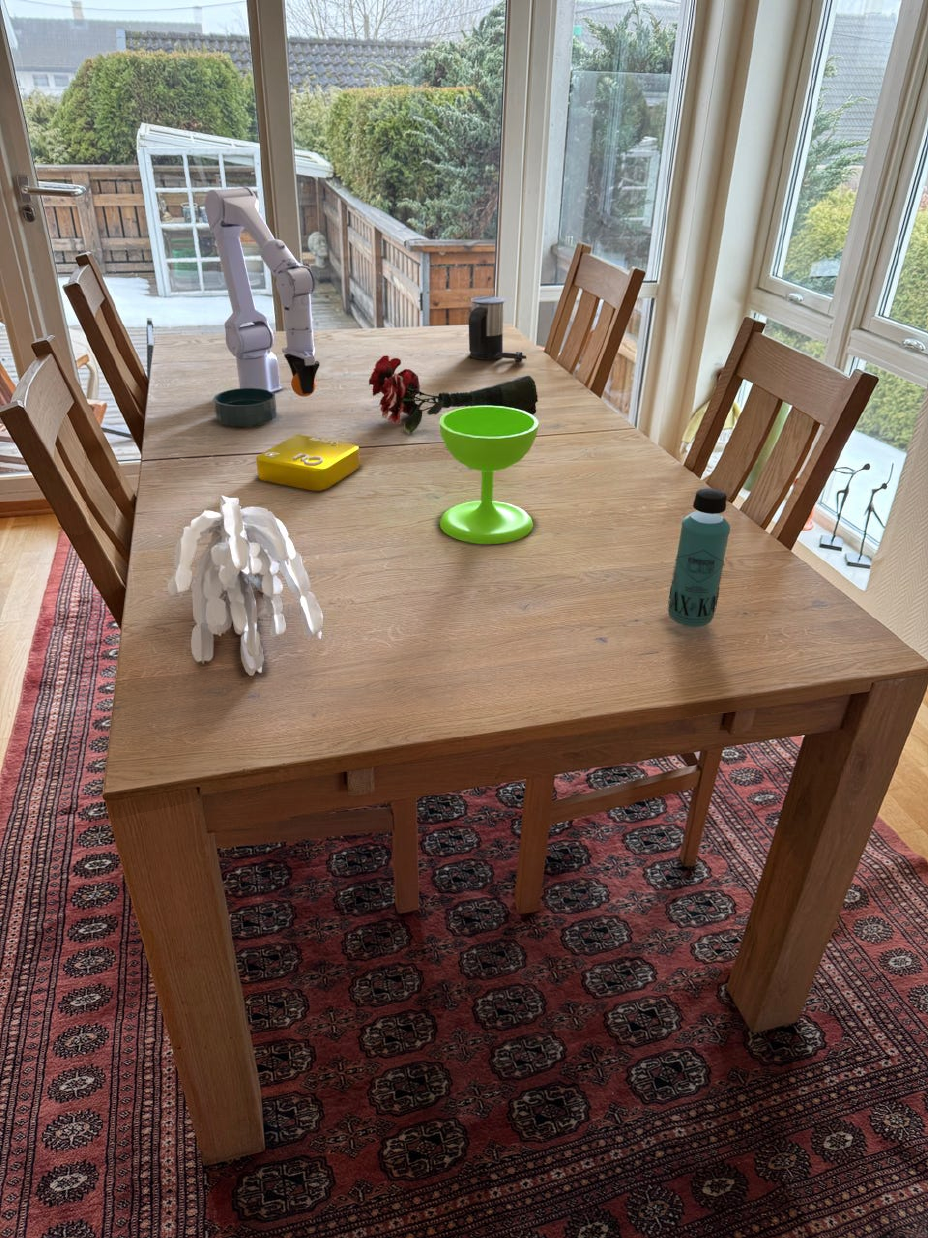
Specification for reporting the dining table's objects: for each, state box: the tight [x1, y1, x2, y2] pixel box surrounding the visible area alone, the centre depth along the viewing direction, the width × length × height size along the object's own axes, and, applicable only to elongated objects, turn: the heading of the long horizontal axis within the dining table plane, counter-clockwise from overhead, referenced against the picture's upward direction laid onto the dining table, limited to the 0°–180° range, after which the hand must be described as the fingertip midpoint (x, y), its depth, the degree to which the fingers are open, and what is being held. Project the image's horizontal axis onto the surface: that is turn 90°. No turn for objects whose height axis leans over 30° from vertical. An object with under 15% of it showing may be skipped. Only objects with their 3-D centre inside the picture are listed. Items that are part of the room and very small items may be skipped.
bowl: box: [212, 387, 278, 428], centre depth 200 cm, size 13×13×5 cm
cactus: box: [166, 494, 324, 677], centre depth 125 cm, size 17×18×35 cm
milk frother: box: [468, 295, 527, 363], centre depth 241 cm, size 14×16×15 cm
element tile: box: [255, 434, 360, 492], centre depth 173 cm, size 15×15×5 cm
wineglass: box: [438, 406, 540, 545], centre depth 151 cm, size 16×16×18 cm
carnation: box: [368, 354, 539, 435], centre depth 200 cm, size 16×18×35 cm
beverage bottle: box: [666, 487, 731, 628], centre depth 123 cm, size 6×7×20 cm
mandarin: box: [290, 373, 317, 397], centre depth 202 cm, size 5×5×6 cm
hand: (304, 389), depth 203 cm, fingers closed on mandarin, 5 cm apart
